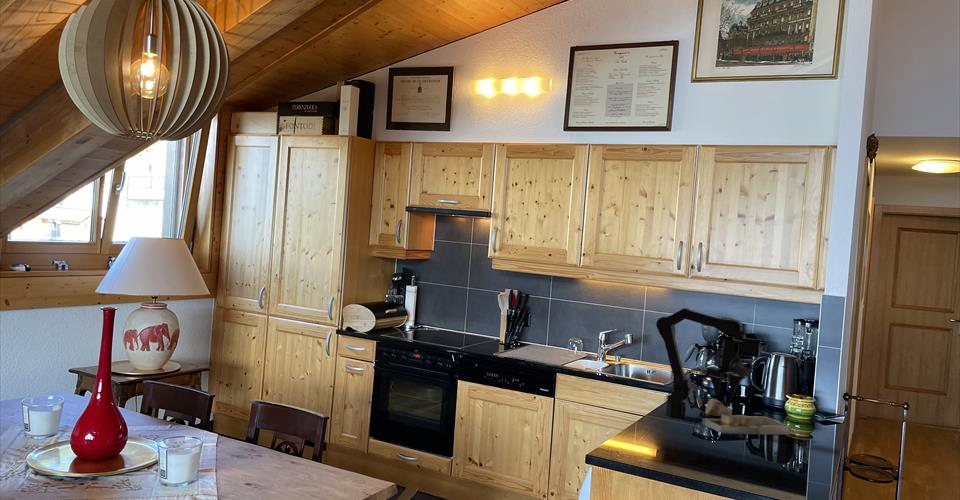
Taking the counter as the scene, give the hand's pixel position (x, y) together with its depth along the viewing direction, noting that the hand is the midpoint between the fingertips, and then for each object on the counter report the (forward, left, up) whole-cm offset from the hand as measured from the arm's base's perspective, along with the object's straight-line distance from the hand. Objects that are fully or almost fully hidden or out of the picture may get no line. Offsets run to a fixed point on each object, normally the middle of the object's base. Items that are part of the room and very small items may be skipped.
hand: (724, 394), depth 282 cm
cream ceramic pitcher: (+10, +16, -13) cm, 23 cm away
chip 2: (+6, -4, -12) cm, 14 cm away
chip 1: (+1, -4, -12) cm, 12 cm away
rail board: (+8, -4, -12) cm, 15 cm away
